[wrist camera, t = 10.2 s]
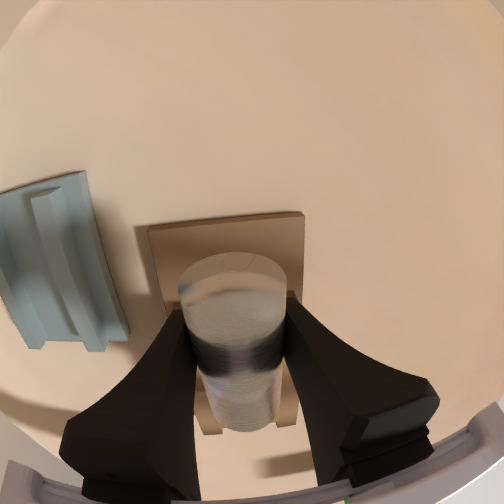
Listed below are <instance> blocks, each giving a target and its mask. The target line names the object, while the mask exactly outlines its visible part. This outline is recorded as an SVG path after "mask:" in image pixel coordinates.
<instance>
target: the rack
mask: <svg viewBox="0 0 504 504" xmlns="http://www.w3.org/2000/svg"><path fill="white" fill-rule="evenodd" d="M0 295H1V297H2V299H3V301H4V303H5V305H6V307H7V309H8V311H9V313H10V315H11V317H12V319H13V321H14V323H15V325H16V327H17V329H18V331H19V332H20V334H21V336H22V338H23V339H24V341H25V343H26V345H27V346H28V348H29V349H40V350H41V349H42V347H43V345H44V343H45V341H71V342H83V343H84V345H85V347H86V349H87V351H88V352H105V349H106V346H107V343H108V342H120V341H128V339H129V335H130V330H129V327H128V325H127V322H126V319H125V317H124V314H123V311H122V308H121V305H120V303H119V300H118V297H117V294H116V291H115V288H114V285H113V282H112V278H111V275H110V272H109V269H108V265H107V262H106V258H105V255H104V251H103V248H102V244H101V240H100V236H99V232H98V228H97V224H96V220H95V216H94V211H93V207H92V202H91V197H90V192H89V187H88V182H87V176H86V171H81V172H77V173H73V174H69V175H65V176H61V177H57V178H53V179H49V180H45V181H42V182H38V183H35V184H31V185H28V186H24V187H21V188H18V189H15V190H12V191H8V192H5V193H2V194H0Z"/></svg>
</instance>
